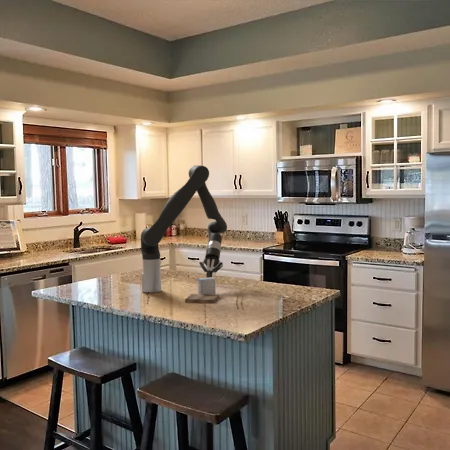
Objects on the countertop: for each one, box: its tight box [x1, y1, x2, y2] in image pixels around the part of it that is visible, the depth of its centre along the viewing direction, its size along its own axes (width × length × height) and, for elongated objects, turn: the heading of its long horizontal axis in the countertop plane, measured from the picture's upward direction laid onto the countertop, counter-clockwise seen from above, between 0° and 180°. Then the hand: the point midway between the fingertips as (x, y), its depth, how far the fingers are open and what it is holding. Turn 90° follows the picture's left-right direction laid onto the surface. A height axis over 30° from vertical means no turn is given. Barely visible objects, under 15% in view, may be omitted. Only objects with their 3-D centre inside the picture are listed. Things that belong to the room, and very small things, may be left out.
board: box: [184, 293, 220, 304], centre depth 237 cm, size 14×11×2 cm
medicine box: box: [197, 276, 217, 295], centre depth 246 cm, size 8×4×9 cm, turn 109°
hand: (208, 278), depth 251 cm, fingers closed
